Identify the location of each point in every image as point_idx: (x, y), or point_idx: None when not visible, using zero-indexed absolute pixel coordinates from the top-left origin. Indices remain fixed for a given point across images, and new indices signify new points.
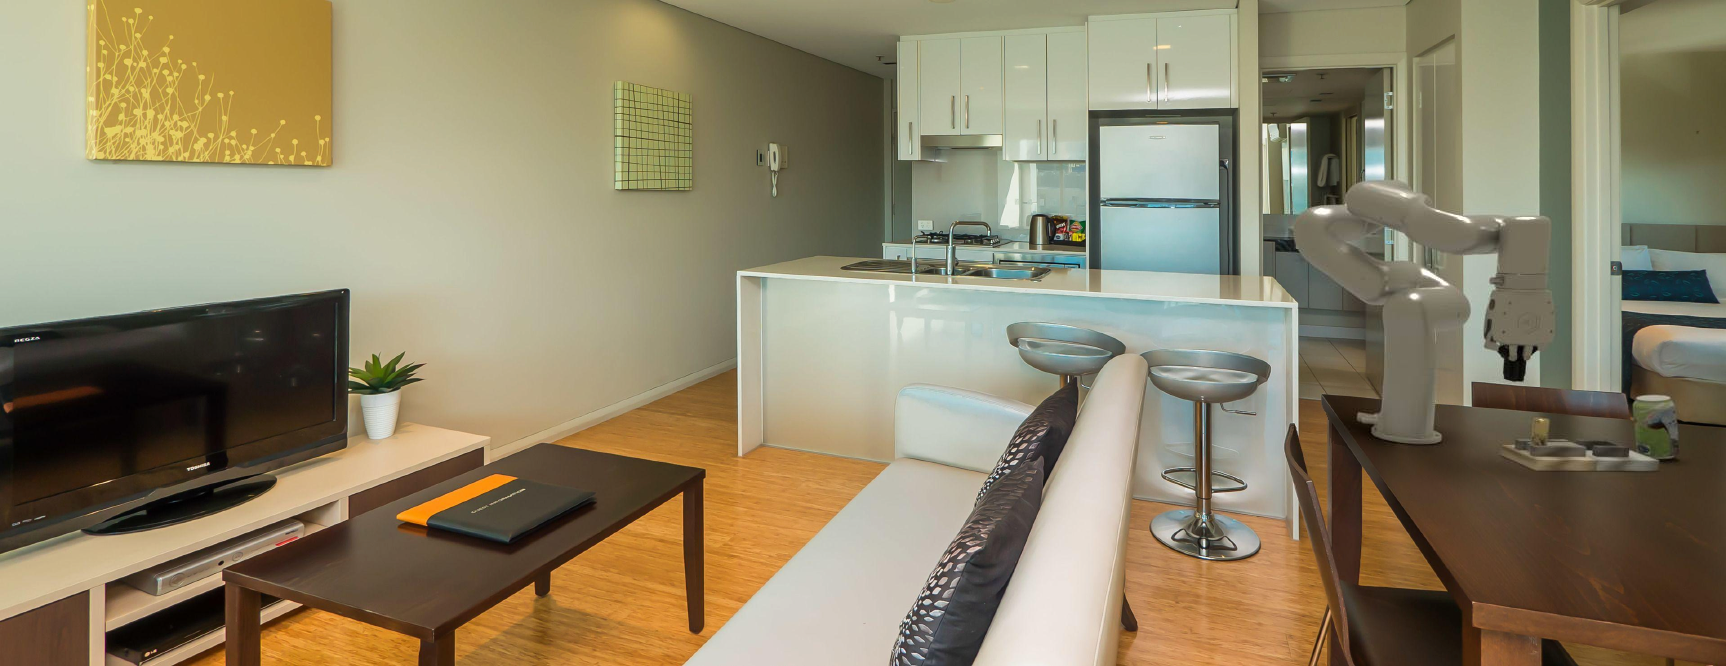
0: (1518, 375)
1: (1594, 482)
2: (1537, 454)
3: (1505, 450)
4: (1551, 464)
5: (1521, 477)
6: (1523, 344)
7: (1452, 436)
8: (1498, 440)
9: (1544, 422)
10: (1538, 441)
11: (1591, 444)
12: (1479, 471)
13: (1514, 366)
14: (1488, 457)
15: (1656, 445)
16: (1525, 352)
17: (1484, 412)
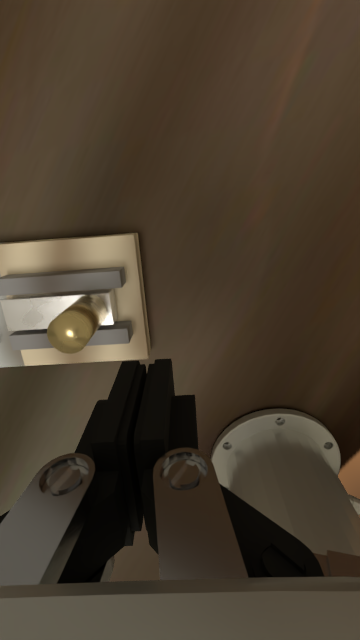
0: (148, 378)
1: (52, 142)
2: (115, 267)
3: (147, 340)
4: (100, 236)
5: (199, 169)
6: (98, 586)
7: None
8: None
9: (68, 314)
10: (96, 299)
11: None
12: (269, 213)
13: (168, 421)
14: (185, 328)
15: None
16: (63, 521)
17: None
